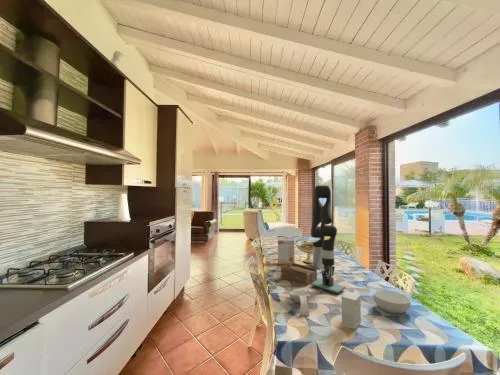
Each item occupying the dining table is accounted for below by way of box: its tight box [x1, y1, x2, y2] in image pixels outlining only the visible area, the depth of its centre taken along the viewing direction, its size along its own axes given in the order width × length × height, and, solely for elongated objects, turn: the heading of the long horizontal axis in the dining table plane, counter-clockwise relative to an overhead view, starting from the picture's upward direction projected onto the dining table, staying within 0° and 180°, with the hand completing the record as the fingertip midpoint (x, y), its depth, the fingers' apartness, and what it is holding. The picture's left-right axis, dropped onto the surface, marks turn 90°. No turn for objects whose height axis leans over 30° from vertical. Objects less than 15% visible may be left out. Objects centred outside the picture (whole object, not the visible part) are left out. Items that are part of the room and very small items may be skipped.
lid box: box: [280, 262, 318, 287], centre depth 166 cm, size 14×20×8 cm
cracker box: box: [277, 238, 295, 266], centre depth 204 cm, size 14×6×21 cm, turn 84°
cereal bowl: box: [373, 289, 412, 314], centre depth 124 cm, size 17×17×7 cm
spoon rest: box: [288, 289, 311, 317], centre depth 129 cm, size 24×12×7 cm, turn 177°
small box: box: [341, 290, 362, 330], centre depth 110 cm, size 8×6×13 cm
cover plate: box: [310, 276, 346, 294], centre depth 151 cm, size 10×18×6 cm, turn 45°
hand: (328, 284), depth 151 cm, fingers closed on cover plate, 3 cm apart
